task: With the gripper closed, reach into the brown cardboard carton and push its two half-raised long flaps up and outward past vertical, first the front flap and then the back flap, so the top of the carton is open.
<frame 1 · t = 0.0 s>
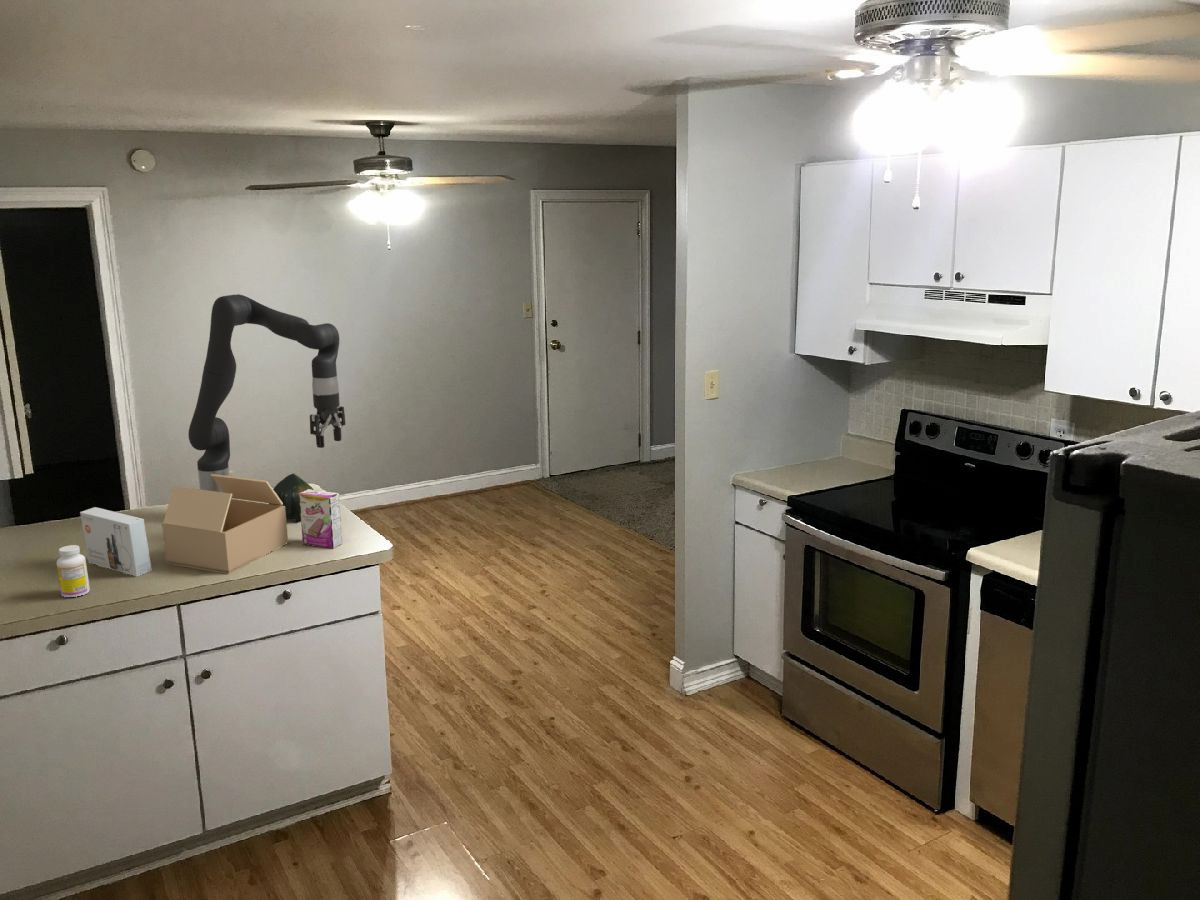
hand: (329, 444, 285), 29 cm above the counter, tool pointing down, fingers open, 8 cm apart
candy bar box: (322, 545, 285), on the counter
squash: (294, 518, 309), on the counter
back flap: (247, 489, 282), point 17 cm above the counter, hinge at 55.0°
front flap: (197, 508, 263), point 17 cm above the counter, hinge at 60.0°
skincare box: (119, 568, 266), on the counter
supplement bottle: (76, 594, 248), on the counter
carton: (229, 553, 277), on the counter
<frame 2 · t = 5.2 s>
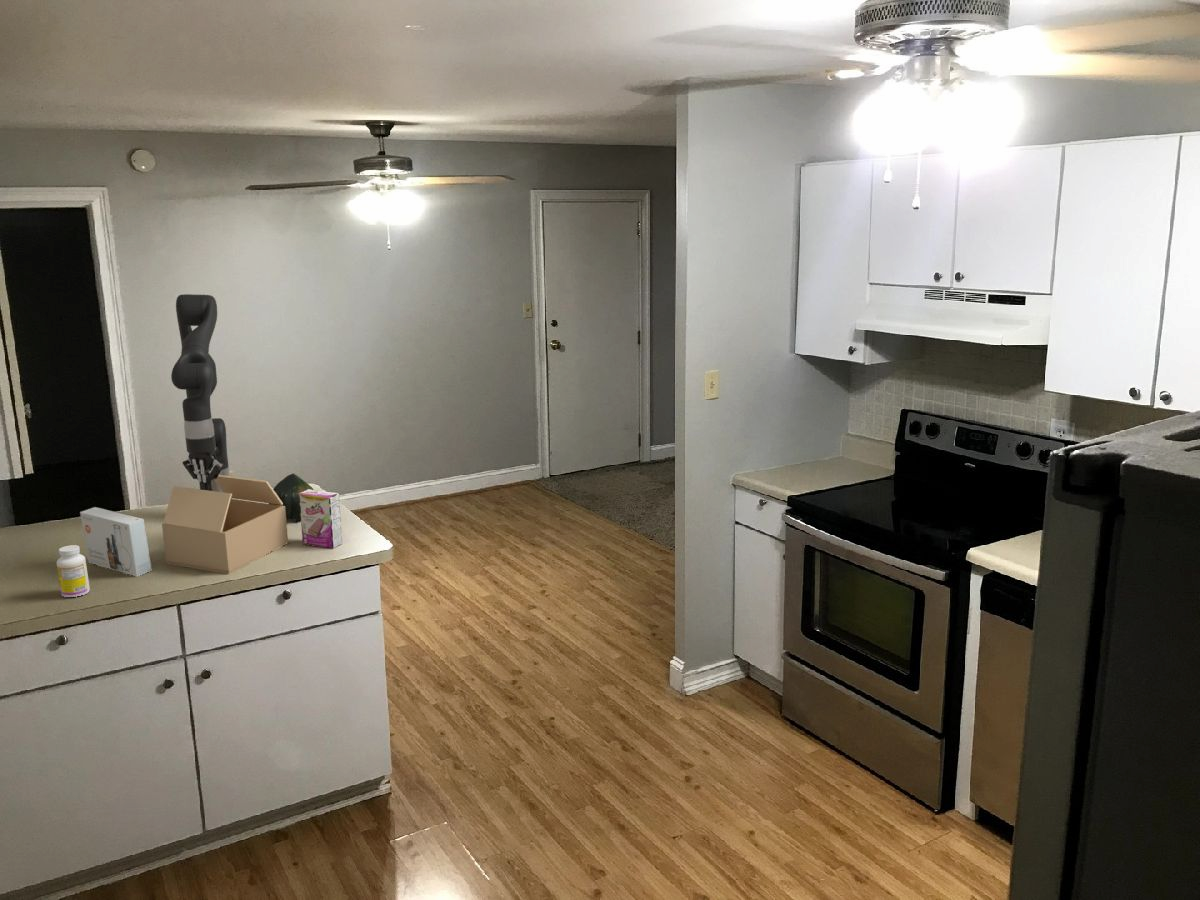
hand: (206, 493, 266), 20 cm above the counter, tool pointing down, fingers closed
front flap: (197, 508, 263), point 17 cm above the counter, hinge at 60.8°, touching gripper
everything else where it was.
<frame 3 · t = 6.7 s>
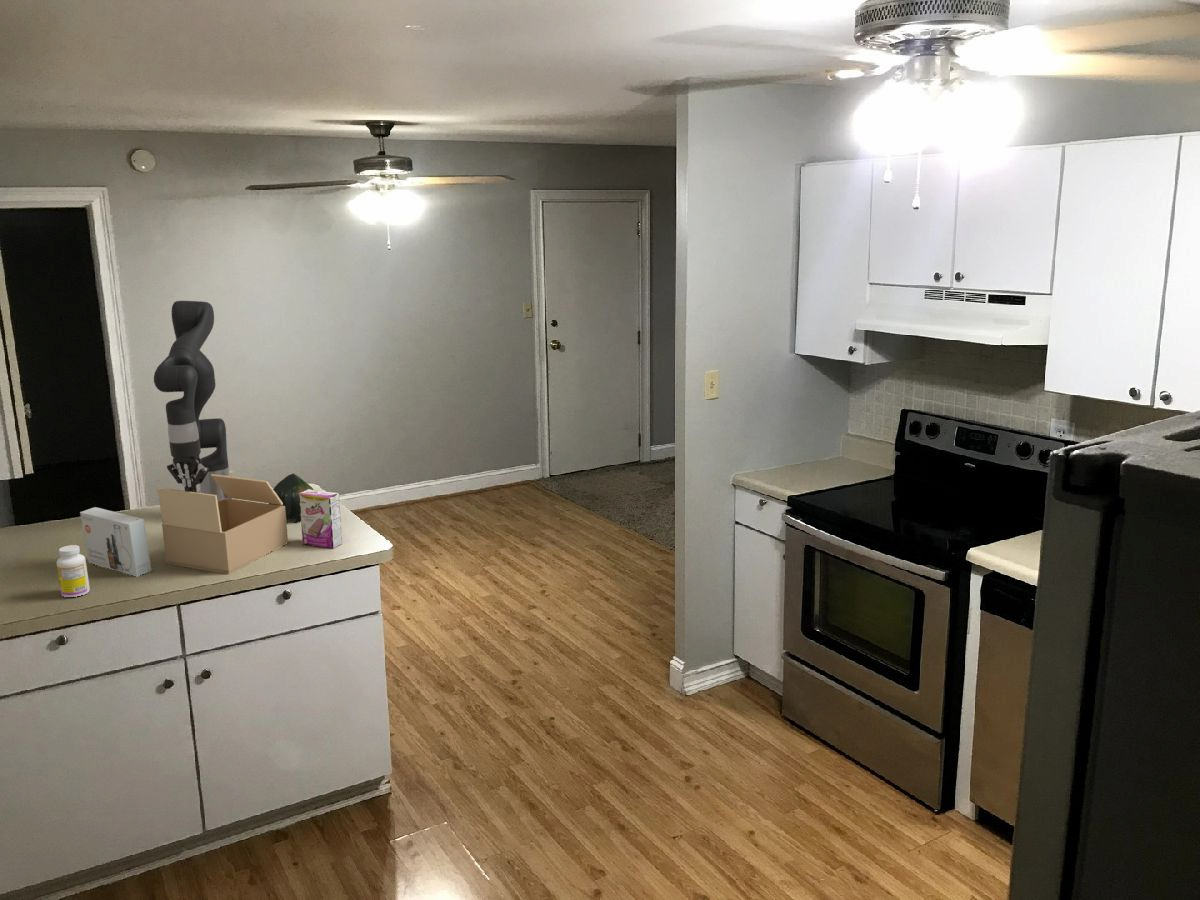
hand: (192, 498, 260), 21 cm above the counter, tool pointing down, fingers closed
front flap: (189, 510, 260), point 18 cm above the counter, hinge at 93.0°, touching gripper
everything else where it was.
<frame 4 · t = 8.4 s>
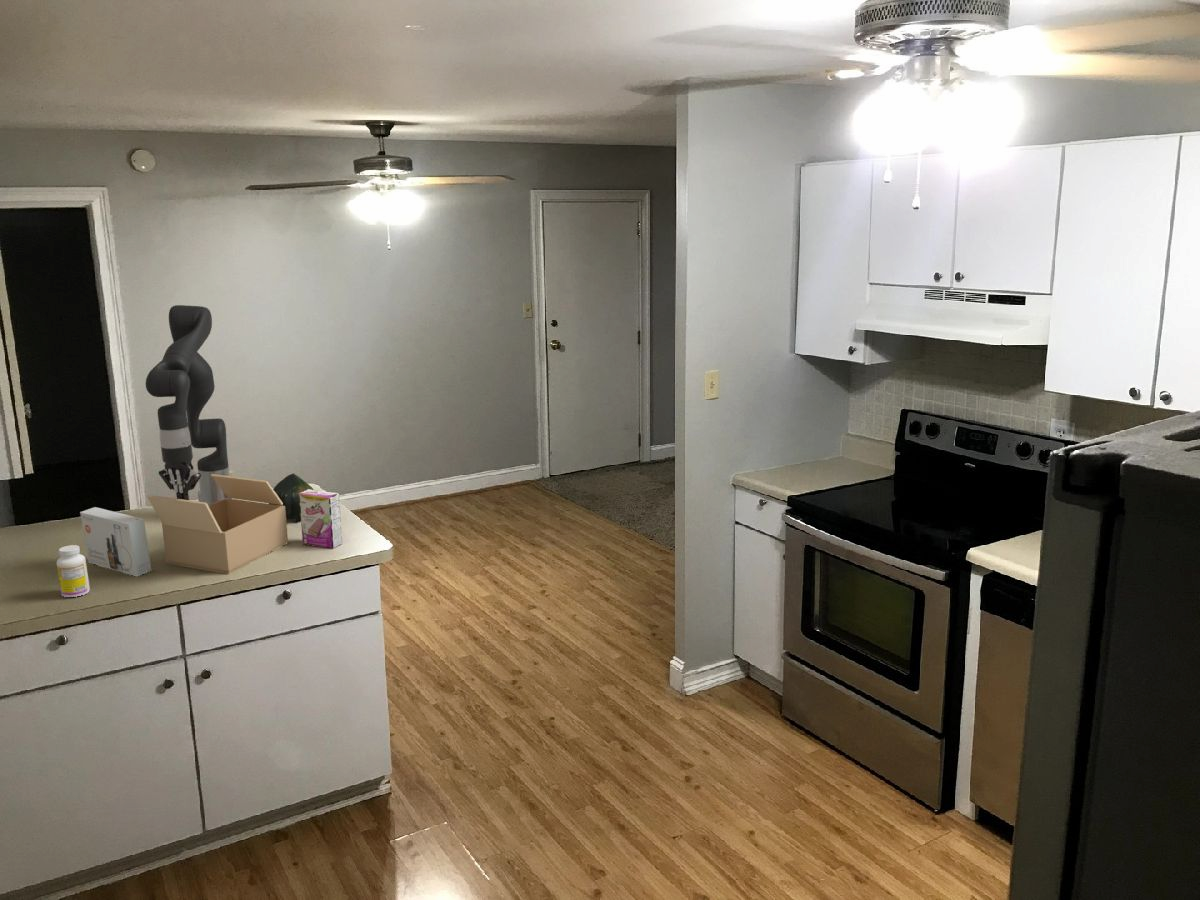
hand: (183, 504, 258), 20 cm above the counter, tool pointing down, fingers closed
front flap: (184, 514, 259), point 17 cm above the counter, hinge at 114.5°, touching gripper
everything else where it was.
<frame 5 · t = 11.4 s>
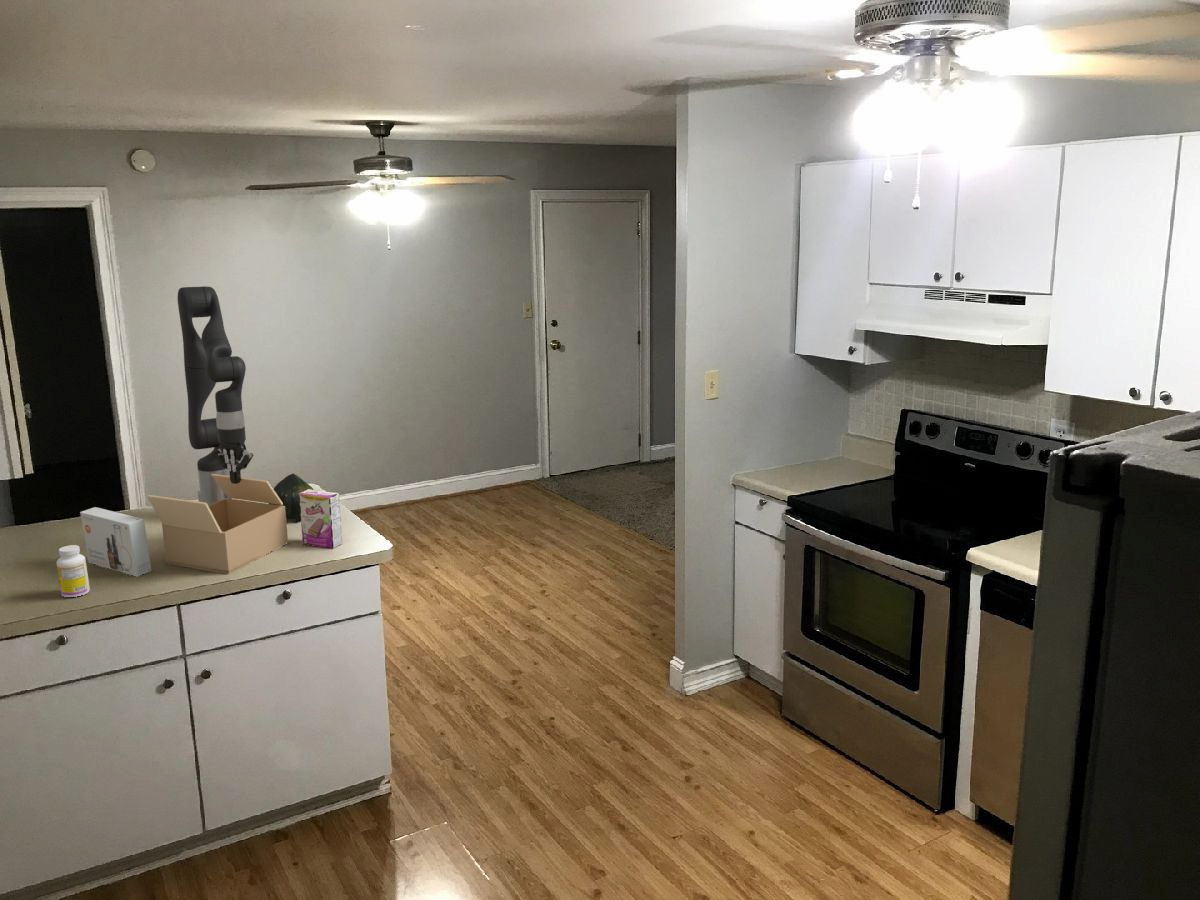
hand: (235, 482, 277), 20 cm above the counter, tool pointing down, fingers closed
back flap: (247, 489, 282), point 17 cm above the counter, hinge at 55.7°, touching gripper
front flap: (184, 514, 259), point 17 cm above the counter, hinge at 114.6°
everything else where it was.
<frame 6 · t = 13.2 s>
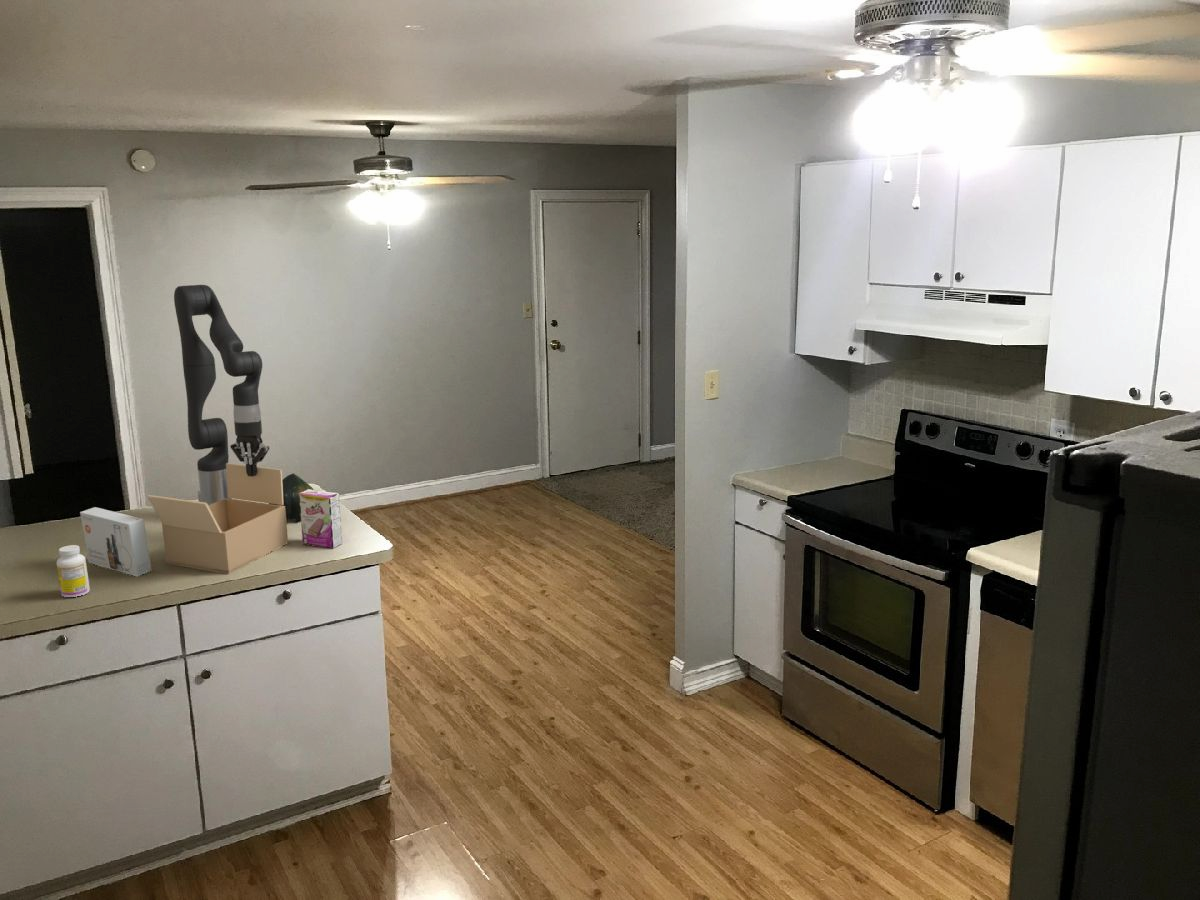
hand: (252, 475, 283), 20 cm above the counter, tool pointing down, fingers closed
back flap: (254, 483, 285), point 18 cm above the counter, hinge at 92.8°, touching gripper
everything else where it was.
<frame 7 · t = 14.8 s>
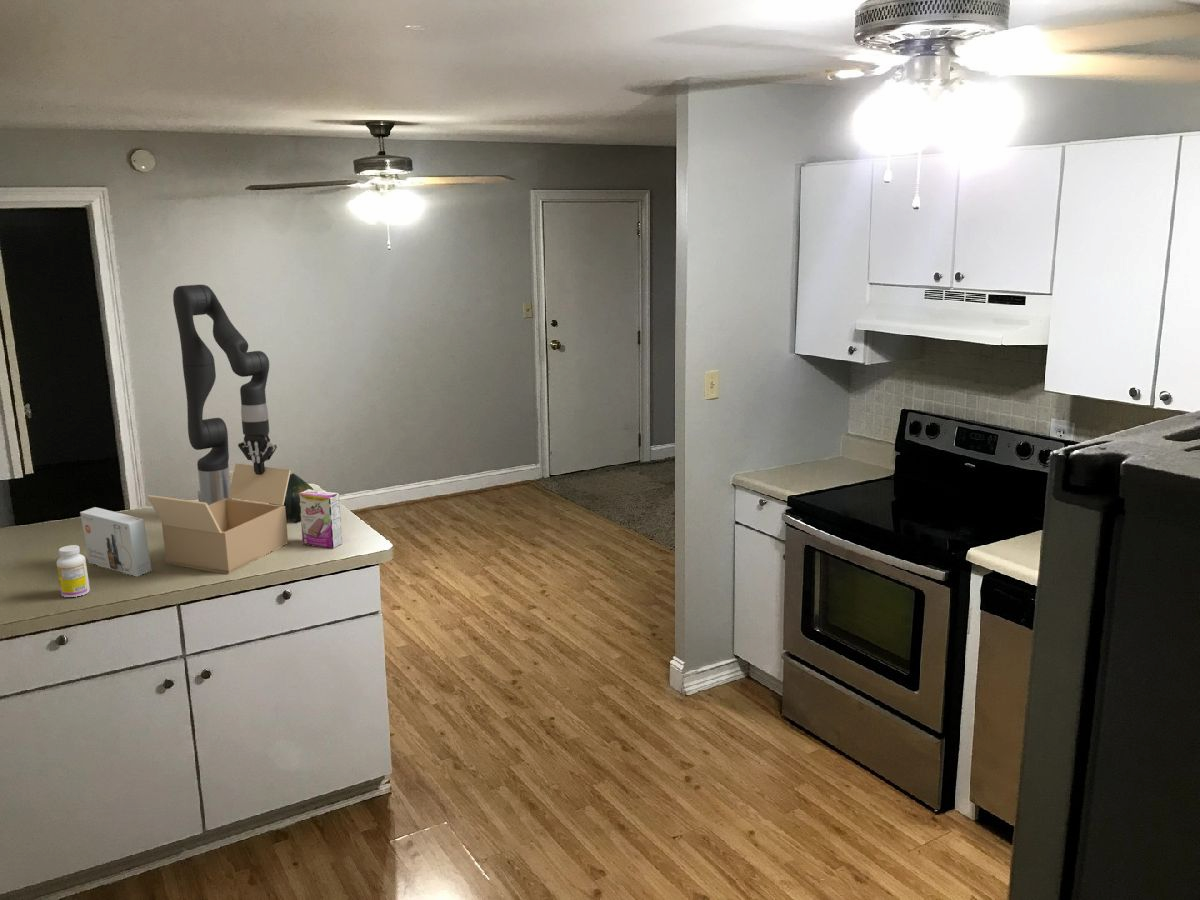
hand: (259, 474, 286), 20 cm above the counter, tool pointing down, fingers closed
back flap: (259, 484, 287), point 17 cm above the counter, hinge at 115.4°, touching gripper
everything else where it was.
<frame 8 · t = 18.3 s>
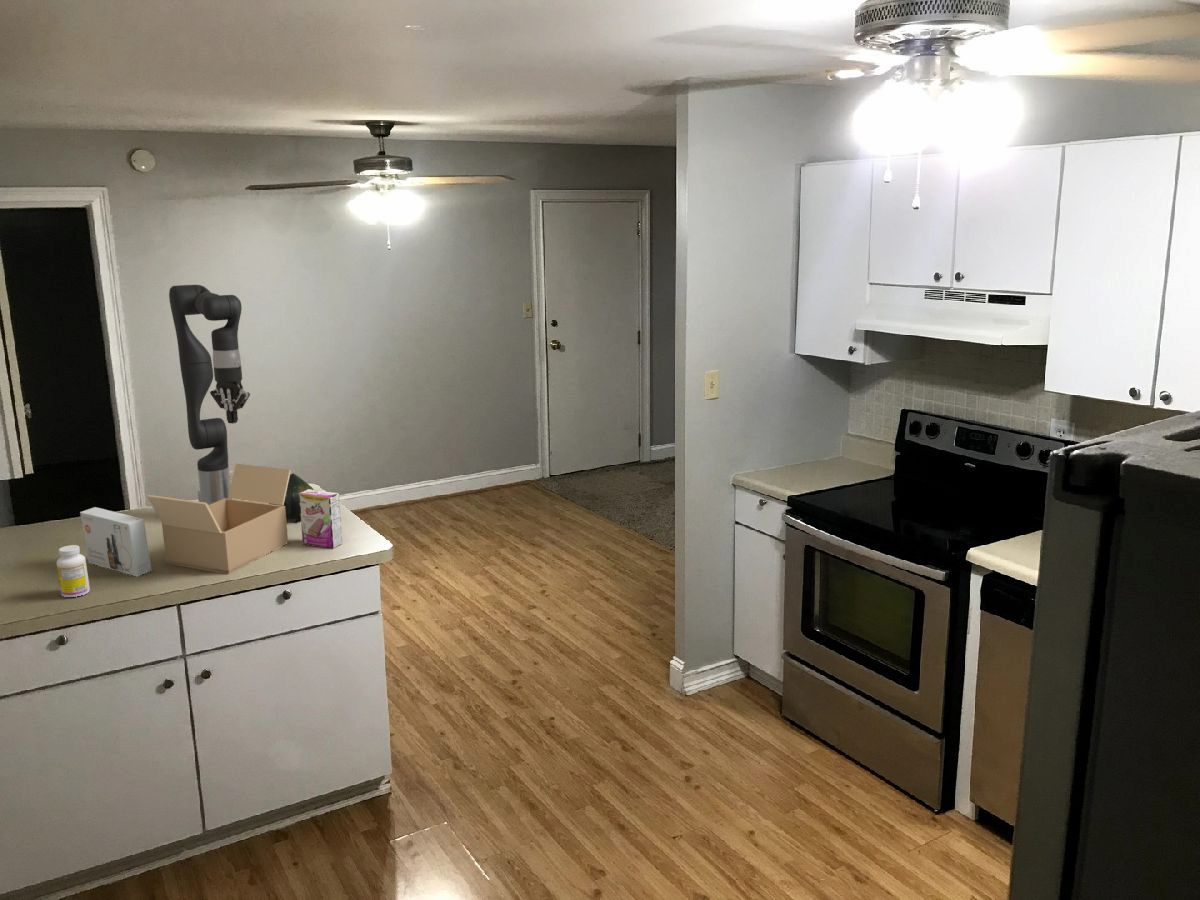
hand: (232, 422, 278), 37 cm above the counter, tool pointing down, fingers closed
back flap: (259, 484, 287), point 17 cm above the counter, hinge at 115.5°
everything else where it was.
at the end: front flap at +115° (first picture: +60°); back flap at +116° (first picture: +55°) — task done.
